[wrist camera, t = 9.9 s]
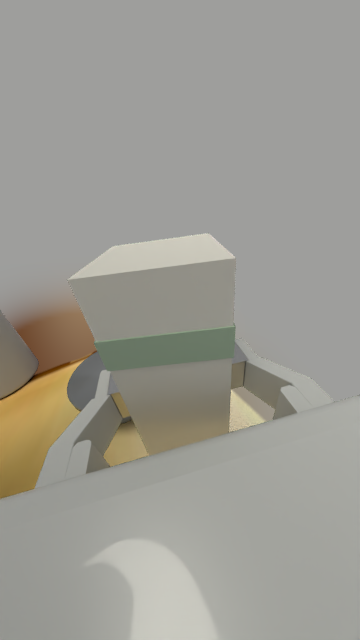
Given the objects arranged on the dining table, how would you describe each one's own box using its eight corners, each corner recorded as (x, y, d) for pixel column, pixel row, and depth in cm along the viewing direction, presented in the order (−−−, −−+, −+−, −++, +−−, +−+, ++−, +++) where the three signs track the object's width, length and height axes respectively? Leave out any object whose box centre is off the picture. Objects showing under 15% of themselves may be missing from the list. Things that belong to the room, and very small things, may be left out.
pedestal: (72, 442, 27) (48, 415, 24) (101, 373, 38) (87, 347, 34) (159, 433, 27) (149, 404, 23) (163, 365, 38) (156, 338, 34)
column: (163, 489, 12) (64, 280, 4) (165, 424, 15) (112, 245, 8) (228, 483, 12) (238, 258, 4) (215, 419, 15) (209, 232, 8)
